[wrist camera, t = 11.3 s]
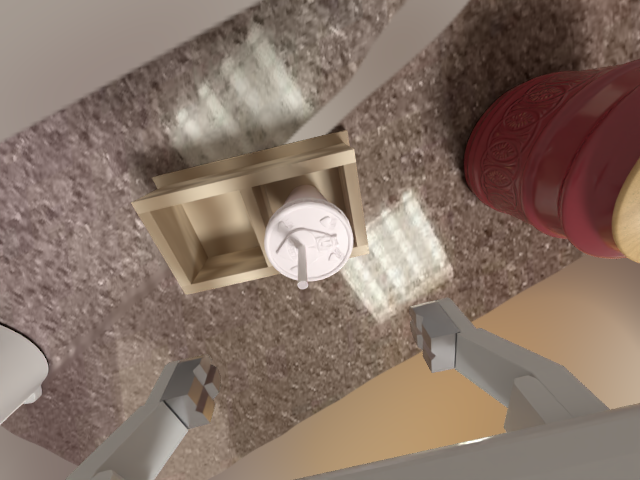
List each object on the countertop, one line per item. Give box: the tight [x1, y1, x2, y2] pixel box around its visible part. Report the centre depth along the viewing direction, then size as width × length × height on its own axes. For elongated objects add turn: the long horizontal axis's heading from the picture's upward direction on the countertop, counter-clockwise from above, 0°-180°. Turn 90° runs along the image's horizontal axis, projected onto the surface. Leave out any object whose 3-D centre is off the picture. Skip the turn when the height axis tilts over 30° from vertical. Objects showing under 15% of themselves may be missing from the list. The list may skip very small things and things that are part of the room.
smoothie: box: [264, 185, 353, 289], centre depth 20 cm, size 6×6×14 cm
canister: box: [464, 59, 640, 263], centre depth 18 cm, size 13×13×18 cm
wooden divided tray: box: [131, 130, 369, 295], centre depth 24 cm, size 19×12×6 cm, turn 103°
